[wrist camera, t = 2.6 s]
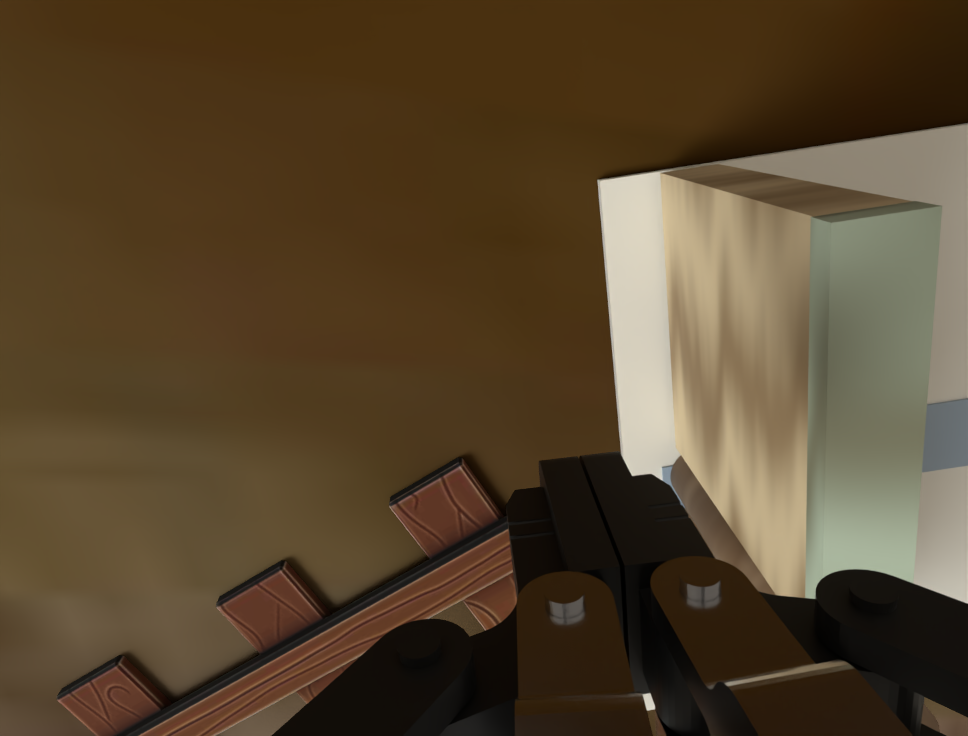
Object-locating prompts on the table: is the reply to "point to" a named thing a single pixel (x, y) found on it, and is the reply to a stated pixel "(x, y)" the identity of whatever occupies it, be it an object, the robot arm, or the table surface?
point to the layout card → (955, 339)
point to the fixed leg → (728, 538)
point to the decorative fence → (321, 619)
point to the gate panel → (802, 365)
